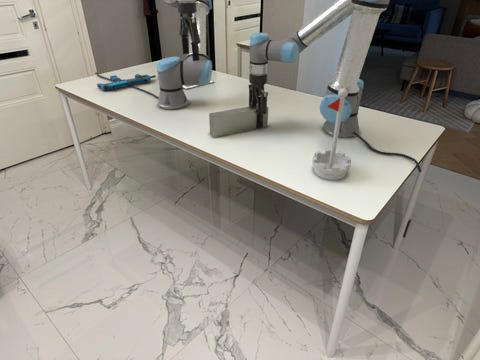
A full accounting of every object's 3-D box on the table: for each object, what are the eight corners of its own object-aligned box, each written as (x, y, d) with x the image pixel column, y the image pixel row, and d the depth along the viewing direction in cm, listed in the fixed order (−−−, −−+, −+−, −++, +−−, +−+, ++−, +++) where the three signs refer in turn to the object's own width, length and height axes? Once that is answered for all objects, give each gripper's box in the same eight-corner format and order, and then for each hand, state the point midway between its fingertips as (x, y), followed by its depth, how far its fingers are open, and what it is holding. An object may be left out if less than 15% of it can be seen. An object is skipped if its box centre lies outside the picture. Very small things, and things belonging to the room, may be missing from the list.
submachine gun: (141, 68, 224) (160, 74, 207) (142, 74, 226) (160, 81, 209) (89, 78, 206) (105, 86, 189) (91, 85, 207) (106, 93, 191)
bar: (262, 122, 157) (263, 103, 152) (267, 126, 154) (268, 107, 149) (210, 133, 148) (208, 113, 143) (213, 137, 144) (212, 117, 139)
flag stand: (334, 159, 128) (348, 80, 112) (356, 176, 118) (375, 92, 101) (304, 166, 124) (314, 84, 108) (324, 184, 114) (338, 97, 97)
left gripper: (169, -1, 143) (174, 51, 154) (187, 5, 124) (191, 64, 136) (186, -2, 146) (190, 50, 157) (206, 4, 127) (209, 62, 138)
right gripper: (241, 69, 146) (241, 119, 159) (260, 80, 133) (258, 134, 146) (256, 67, 149) (255, 116, 162) (277, 77, 136) (273, 131, 148)
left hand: (190, 57), depth 146 cm, fingers open, 13 cm apart
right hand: (256, 125), depth 154 cm, fingers closed on bar, 5 cm apart
